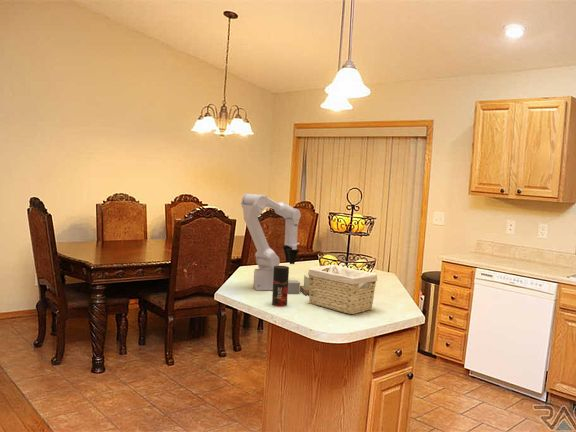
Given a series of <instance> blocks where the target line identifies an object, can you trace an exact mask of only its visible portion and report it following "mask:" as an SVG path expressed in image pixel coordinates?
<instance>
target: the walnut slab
mask: <svg viewBox="0 0 576 432" xmlns="http://www.w3.org/2000/svg"><path fill="white" fill-rule="evenodd" d="M300 291H301V292H302V293H303V294H304V295H305V297H309V295H310V294H309V289H306V288H305V287H304V285H300ZM301 292H300V293H301ZM302 293H301V294H302ZM303 294H302V295H303ZM304 295H303V296H304ZM307 295H308V296H307ZM312 295H313V294H312Z"/></svg>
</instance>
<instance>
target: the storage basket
mask: <svg viewBox="0 0 576 432" xmlns="http://www.w3.org/2000/svg"><path fill="white" fill-rule="evenodd" d="M307 272H308V273H307V275H309V294H310V295H309V296H308V297H309V300H308V302H309V303H310V304H311V305H315V306H319V307H323V308H326V309H330V310H333V311H338V312H341V313H344V314H349V315H354V314H359V313H363V312H365V311H369V310H371V309H373V303H374V296H375V291H376V290H375V289H376V285H377V281H378V274H377V273H375V272H370V271H366V270H365V271H364V270H359V269H355V268H351V267H345V266H342V265H337V264H335V263H334V264H327V265H319V266H313V267H310V268H308V271H307ZM312 294H313V295H312Z"/></svg>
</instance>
